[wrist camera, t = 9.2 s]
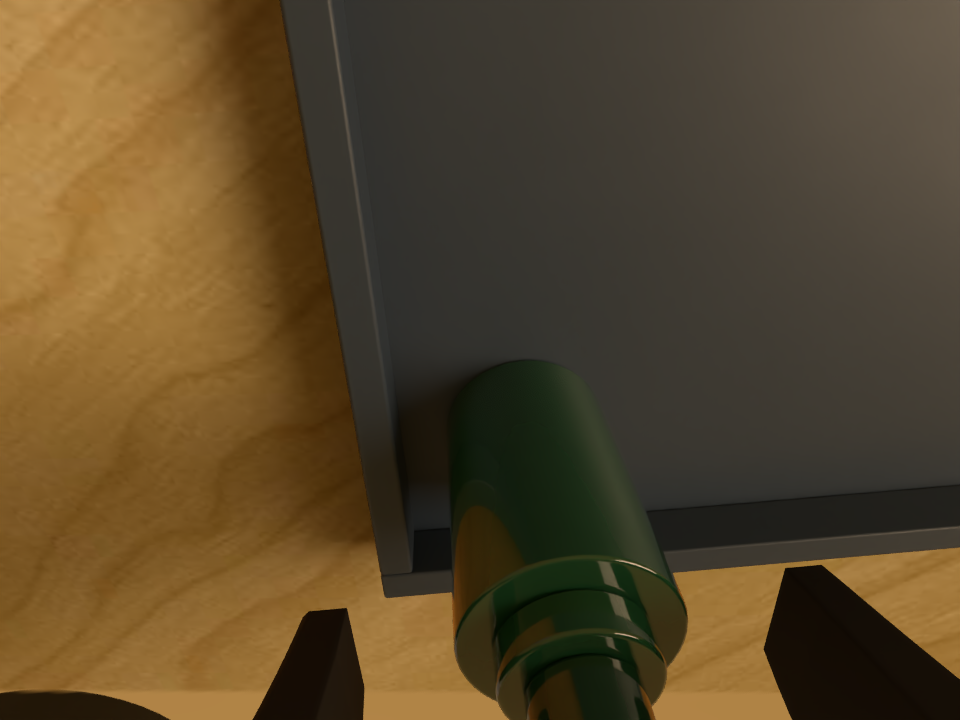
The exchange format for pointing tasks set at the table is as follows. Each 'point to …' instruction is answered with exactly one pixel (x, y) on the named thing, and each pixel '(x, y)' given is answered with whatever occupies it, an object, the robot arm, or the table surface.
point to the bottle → (553, 554)
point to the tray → (652, 254)
